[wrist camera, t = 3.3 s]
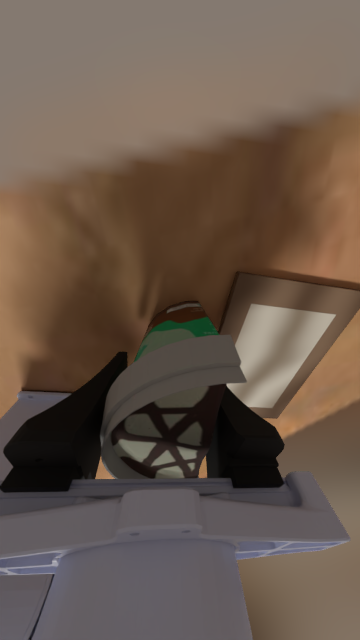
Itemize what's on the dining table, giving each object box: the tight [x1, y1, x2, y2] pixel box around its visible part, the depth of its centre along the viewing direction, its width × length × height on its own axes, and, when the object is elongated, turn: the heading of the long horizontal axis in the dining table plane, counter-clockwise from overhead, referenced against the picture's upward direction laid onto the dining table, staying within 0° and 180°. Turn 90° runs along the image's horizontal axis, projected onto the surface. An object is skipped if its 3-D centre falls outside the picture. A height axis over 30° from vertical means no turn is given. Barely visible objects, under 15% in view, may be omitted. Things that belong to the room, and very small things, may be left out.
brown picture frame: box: [218, 272, 360, 419], centre depth 18 cm, size 13×20×1 cm, turn 171°
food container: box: [100, 301, 247, 479], centre depth 12 cm, size 12×6×10 cm, turn 175°
